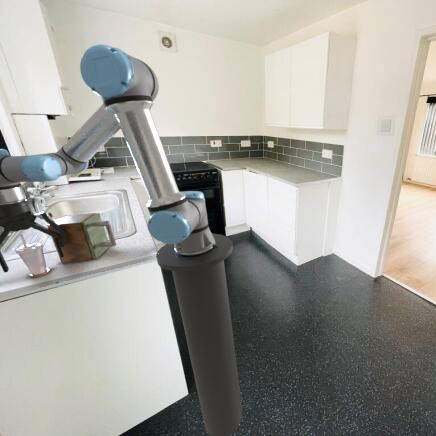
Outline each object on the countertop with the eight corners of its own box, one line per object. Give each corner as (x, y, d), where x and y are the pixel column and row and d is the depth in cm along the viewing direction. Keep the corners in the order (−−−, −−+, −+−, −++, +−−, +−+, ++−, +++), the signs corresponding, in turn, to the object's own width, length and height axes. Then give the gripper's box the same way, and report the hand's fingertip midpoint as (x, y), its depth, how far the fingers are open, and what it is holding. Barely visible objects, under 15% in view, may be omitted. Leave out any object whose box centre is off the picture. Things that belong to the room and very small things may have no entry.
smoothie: (24, 272, 83) (7, 235, 78) (50, 264, 87) (35, 228, 82) (27, 279, 79) (10, 240, 74) (54, 270, 84) (39, 233, 79)
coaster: (53, 268, 86) (53, 267, 86) (44, 276, 82) (43, 274, 81) (36, 270, 85) (36, 269, 85) (26, 278, 80) (25, 277, 80)
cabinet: (106, 246, 102) (95, 212, 96) (92, 259, 92) (80, 222, 86) (78, 249, 99) (66, 215, 94) (61, 263, 89) (46, 225, 84)
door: (127, 244, 103) (118, 211, 98) (117, 256, 93) (106, 220, 88) (106, 246, 102) (96, 213, 97) (93, 259, 92) (81, 222, 87)
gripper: (62, 192, 85) (81, 247, 92) (-54, 208, 69) (-20, 272, 76) (63, 196, 80) (83, 253, 87) (-62, 214, 64) (-24, 283, 71)
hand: (35, 262), depth 82 cm, fingers open, 13 cm apart
